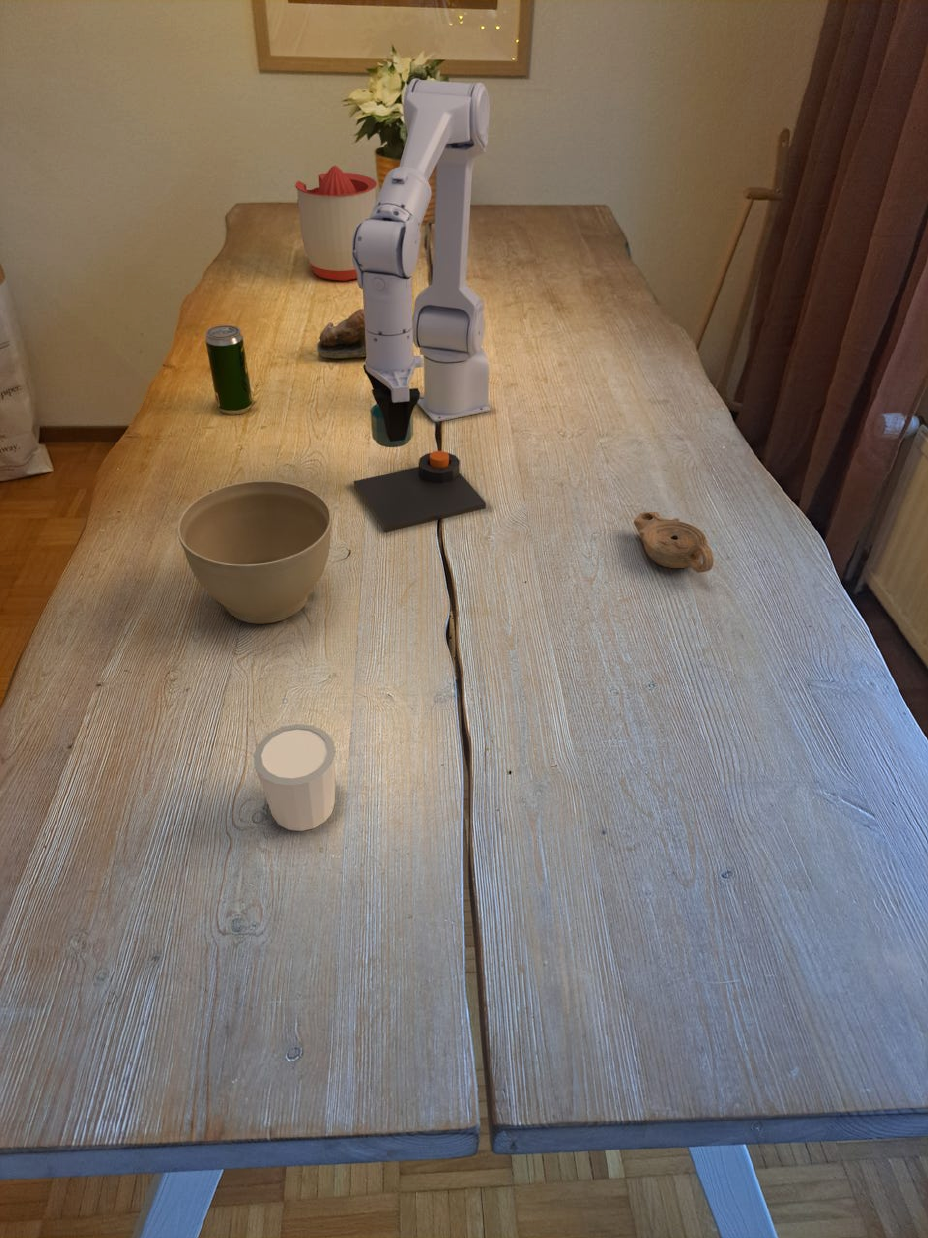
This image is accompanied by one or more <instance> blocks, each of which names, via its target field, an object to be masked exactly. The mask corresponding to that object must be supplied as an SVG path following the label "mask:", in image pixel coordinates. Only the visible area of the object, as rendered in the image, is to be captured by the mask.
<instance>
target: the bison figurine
mask: <svg viewBox="0 0 928 1238" xmlns="http://www.w3.org/2000/svg"><path fill="white" fill-rule="evenodd" d="M318 339H319V341H318V342H317V344H316V350H317V352H318V354H319V356H321V357H324V358H330V359H355V358H365V357H367V356H366V339H365V322H364V308H360V309H357V310H356V311H354V312H353V313H351V314H350V315H349V316H348V317H347V318H346V319H343V320H341V321H340V322H339V323H338V324H337V325H335V326H334V323H333V322H332V321H330V322H328V323H327V325H325V327H324V328H323V330H322V331H321V332H320V334H319V338H318Z"/></svg>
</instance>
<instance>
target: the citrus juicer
mask: <svg viewBox="0 0 928 1238" xmlns="http://www.w3.org/2000/svg"><path fill="white" fill-rule="evenodd" d="M377 183H378V182H377V181H376V180H375V179H374V178H372V177H370V176H367V175H364V174H359V173H352V172H351V173H350V172H344V171H342V169H341V168H340V167H338V166H337V165H333V166H331V167H330V168H329V169H328V171H327V172H325V173H319V174H318V186H316V187H315V188H312V189H307V184H306V183H304V182H302V181H300V180H297V181H296V182H295V185H294V187H295V189H296V193H297V199H296V204H297V205H298V213H299V223H300V232H301V238H302V239H301V240H302V244H303V247H304V251H305V254H306V257H307V259H308V263H309V265H310V267H311V269H312V271H313V273H314V274H315V275H316V277H317V276H318V277H319V278H322V279H326V280H333V281H340V282H348V281H349V280H355V279H356V280H357V273H356V270H355V268H354V266H353V262H352V255H351V252H352V240H353V234H354V231H355V228H356V226H357V225H358V224H359V223H363V222H364V220H366V219H369V218H370V215H371V213H372V210H373V208H374V205H375V203H376V200H377V194H376V192H377V191H376V187H377V185H378V184H377Z"/></svg>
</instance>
